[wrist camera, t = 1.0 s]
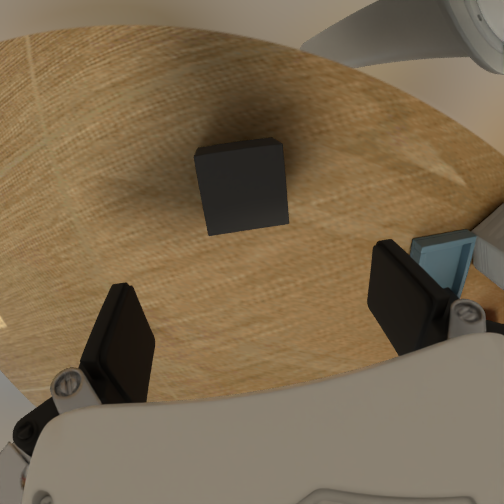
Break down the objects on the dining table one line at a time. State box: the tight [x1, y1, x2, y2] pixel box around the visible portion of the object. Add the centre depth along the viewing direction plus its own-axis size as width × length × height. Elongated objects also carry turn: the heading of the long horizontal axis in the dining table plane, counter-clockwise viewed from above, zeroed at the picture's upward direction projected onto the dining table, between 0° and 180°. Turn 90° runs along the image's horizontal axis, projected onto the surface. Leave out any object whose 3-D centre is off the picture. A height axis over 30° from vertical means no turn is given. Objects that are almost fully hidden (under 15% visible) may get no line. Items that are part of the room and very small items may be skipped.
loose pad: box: [194, 137, 289, 236], centre depth 22 cm, size 6×6×4 cm
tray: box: [410, 229, 477, 299], centre depth 31 cm, size 15×9×2 cm, turn 7°
